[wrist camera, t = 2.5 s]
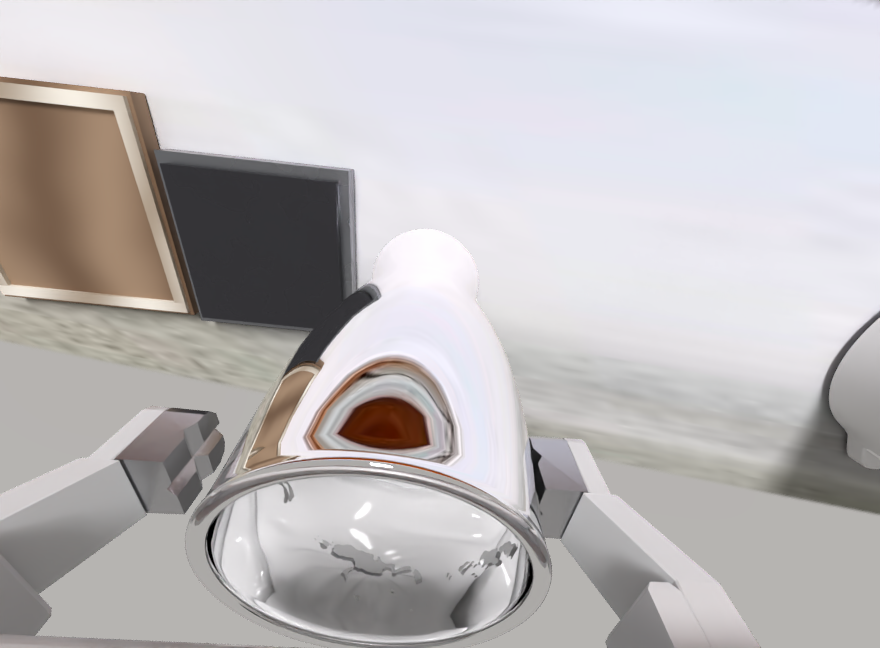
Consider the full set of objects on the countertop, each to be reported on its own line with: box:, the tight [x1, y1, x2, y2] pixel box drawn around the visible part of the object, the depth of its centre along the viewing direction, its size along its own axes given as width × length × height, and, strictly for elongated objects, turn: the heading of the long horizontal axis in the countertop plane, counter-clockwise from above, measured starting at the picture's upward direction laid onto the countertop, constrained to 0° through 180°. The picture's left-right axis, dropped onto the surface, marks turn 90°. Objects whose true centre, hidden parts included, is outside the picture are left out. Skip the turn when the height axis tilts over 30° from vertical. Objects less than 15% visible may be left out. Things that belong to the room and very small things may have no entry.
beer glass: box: [185, 229, 552, 648], centre depth 13 cm, size 7×7×15 cm
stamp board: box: [0, 77, 199, 315], centre depth 17 cm, size 11×11×1 cm
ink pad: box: [154, 149, 357, 331], centre depth 18 cm, size 9×9×2 cm
